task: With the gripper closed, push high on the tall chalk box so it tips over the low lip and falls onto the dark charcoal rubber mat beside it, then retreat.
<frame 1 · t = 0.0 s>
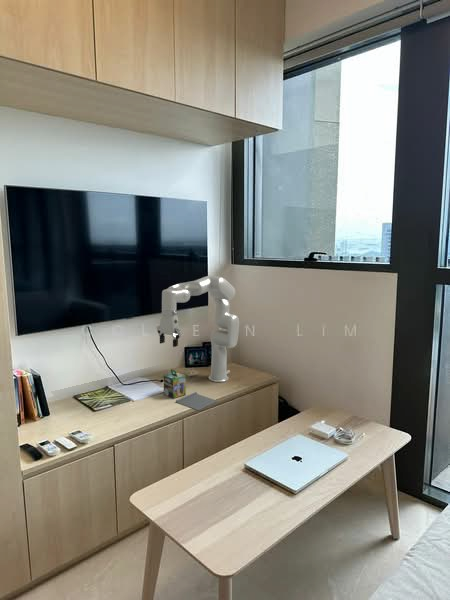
hand: (168, 344, 213), 31 cm above the tv console, fingers open, 9 cm apart
chalk box: (174, 395, 226), on the tv console
mat: (197, 401, 217), on the tv console
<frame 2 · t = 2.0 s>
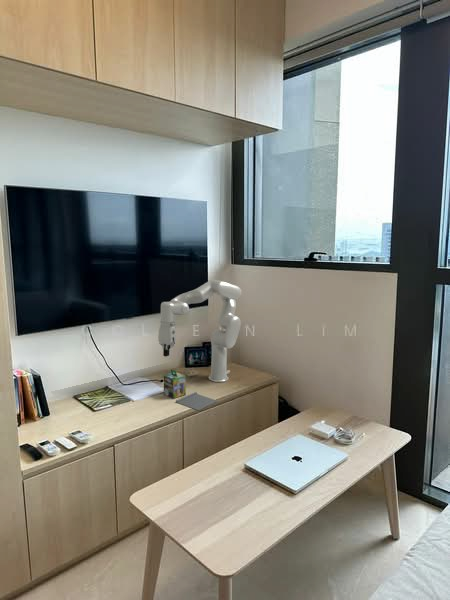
hand: (166, 355, 227), 21 cm above the tv console, fingers closed
nothing on the tv console moved.
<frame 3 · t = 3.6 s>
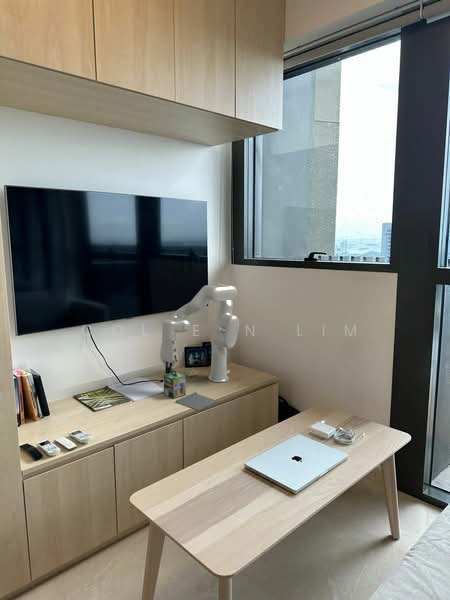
hand: (168, 373, 228), 11 cm above the tv console, fingers closed
chalk box: (174, 395, 226), on the tv console, touching gripper
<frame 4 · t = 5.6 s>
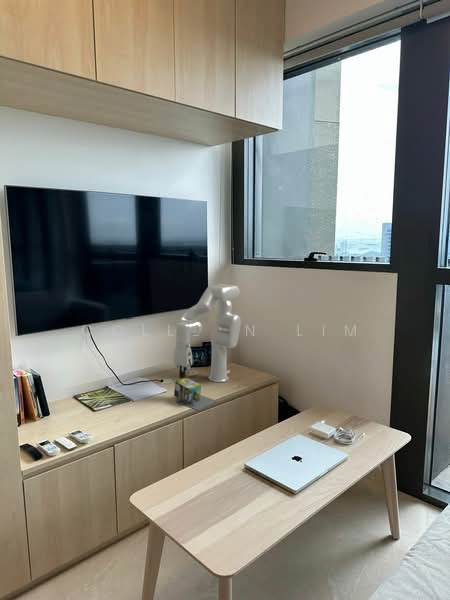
hand: (182, 377, 222), 11 cm above the tv console, fingers closed
chalk box: (180, 386, 222), point 6 cm above the tv console, touching mat
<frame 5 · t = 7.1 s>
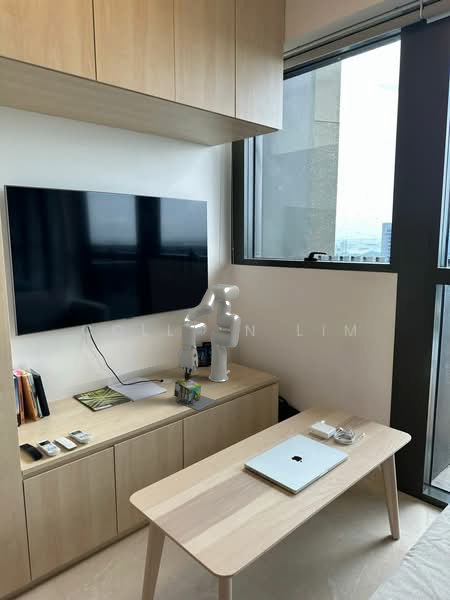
hand: (187, 379, 219), 11 cm above the tv console, fingers closed
nothing on the tv console moved.
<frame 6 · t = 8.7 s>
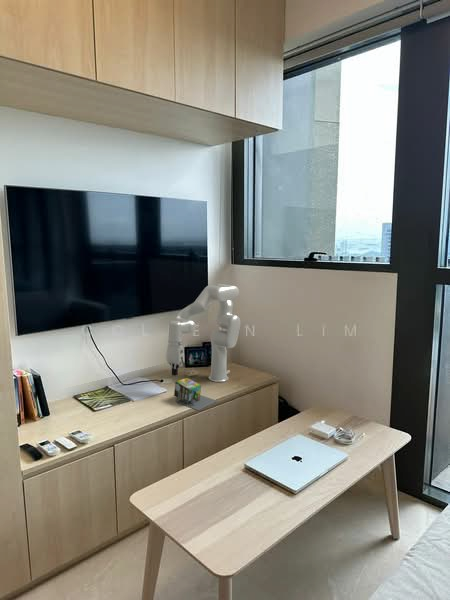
hand: (174, 374, 225), 11 cm above the tv console, fingers closed
nothing on the tv console moved.
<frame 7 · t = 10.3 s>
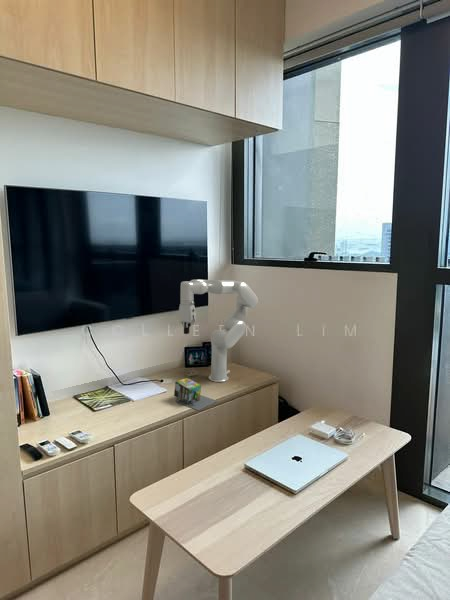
hand: (186, 333, 235), 32 cm above the tv console, fingers closed
nothing on the tv console moved.
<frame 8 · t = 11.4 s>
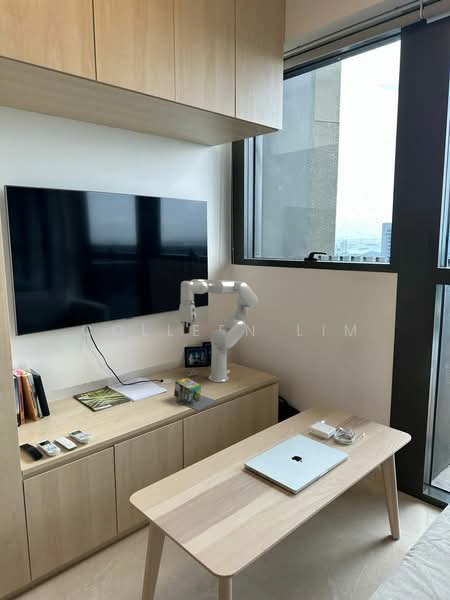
hand: (186, 333, 235), 32 cm above the tv console, fingers closed
nothing on the tv console moved.
at the end: chalk box tilted 98°; chalk box inside the target area (4.9 cm from its centre), point 6.3 cm above the tv console; chalk box 11.3 cm from the mat (horizontally) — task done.
